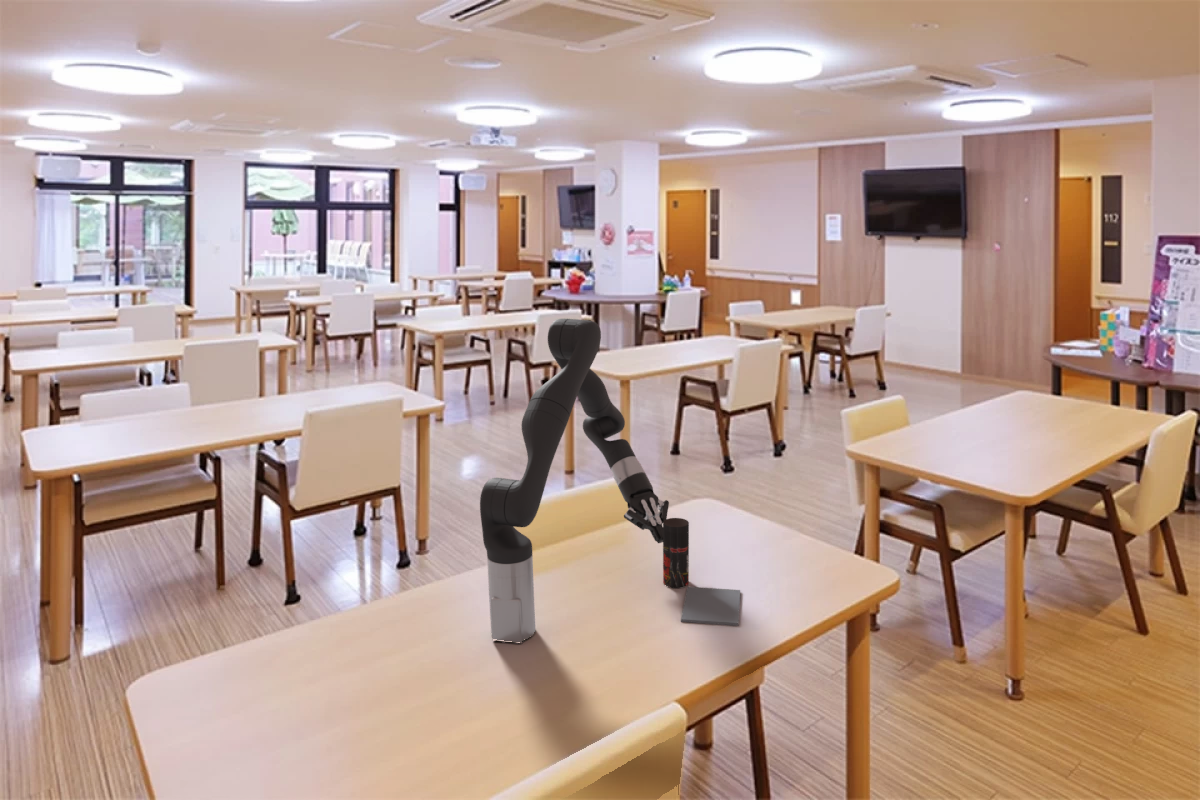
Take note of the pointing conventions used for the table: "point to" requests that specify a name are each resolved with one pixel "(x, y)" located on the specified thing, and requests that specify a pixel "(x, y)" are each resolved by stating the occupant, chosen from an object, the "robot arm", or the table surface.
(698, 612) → the mat
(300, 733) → the table surface
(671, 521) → the deodorant
